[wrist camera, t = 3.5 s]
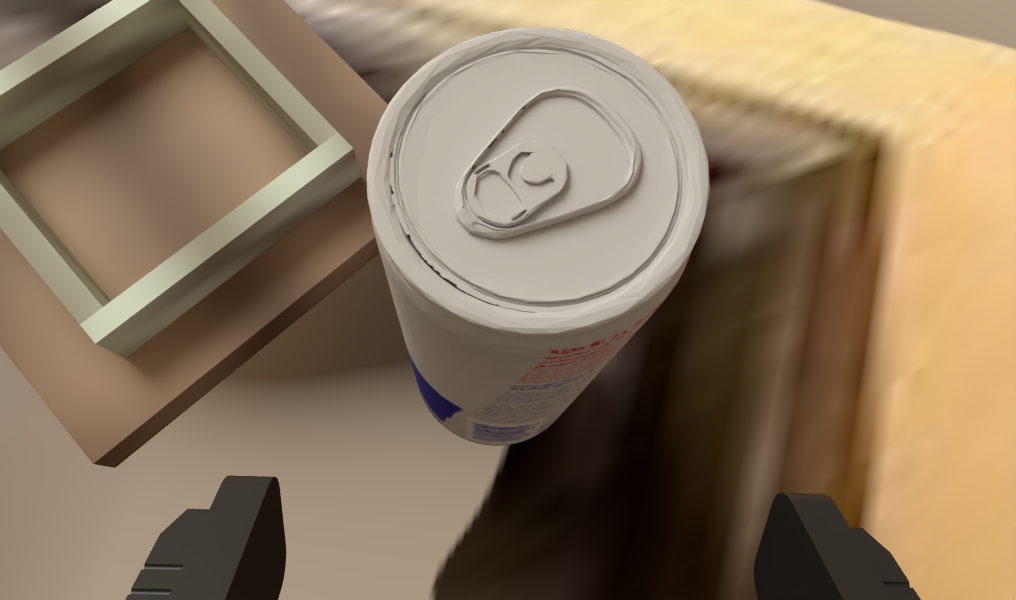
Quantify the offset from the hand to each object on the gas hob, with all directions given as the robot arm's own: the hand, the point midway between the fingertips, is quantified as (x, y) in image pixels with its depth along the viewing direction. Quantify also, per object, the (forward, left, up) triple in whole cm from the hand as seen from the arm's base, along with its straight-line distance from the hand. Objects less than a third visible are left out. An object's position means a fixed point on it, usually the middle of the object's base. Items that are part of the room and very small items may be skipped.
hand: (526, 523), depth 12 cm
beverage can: (-4, -4, -13) cm, 14 cm away
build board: (0, -16, -13) cm, 20 cm away
